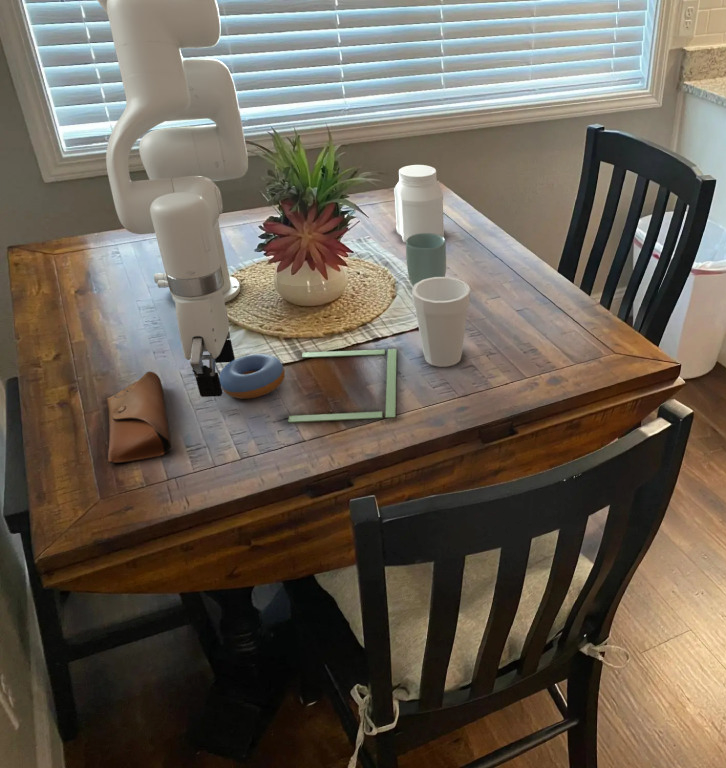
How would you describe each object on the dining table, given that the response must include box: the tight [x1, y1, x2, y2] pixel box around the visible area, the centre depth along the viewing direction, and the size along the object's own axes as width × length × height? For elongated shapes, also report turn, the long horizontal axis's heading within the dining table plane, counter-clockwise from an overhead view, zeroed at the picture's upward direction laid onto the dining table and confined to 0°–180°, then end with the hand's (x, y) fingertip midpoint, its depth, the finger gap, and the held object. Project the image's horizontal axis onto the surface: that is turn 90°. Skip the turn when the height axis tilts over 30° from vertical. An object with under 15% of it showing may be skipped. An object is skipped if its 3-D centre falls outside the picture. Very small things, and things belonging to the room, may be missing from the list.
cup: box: [405, 233, 447, 288], centre depth 149 cm, size 8×8×10 cm
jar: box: [393, 164, 445, 244], centre depth 170 cm, size 12×10×15 cm
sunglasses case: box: [106, 371, 172, 464], centre depth 111 cm, size 18×7×7 cm, turn 26°
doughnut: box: [219, 353, 286, 400], centre depth 120 cm, size 10×10×5 cm
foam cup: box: [411, 276, 471, 368], centre depth 126 cm, size 10×9×13 cm
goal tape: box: [287, 348, 398, 424], centre depth 122 cm, size 16×20×1 cm
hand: (218, 378), depth 119 cm, fingers open, 9 cm apart
